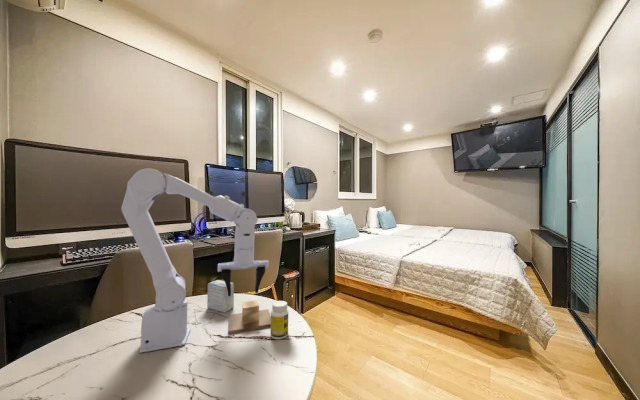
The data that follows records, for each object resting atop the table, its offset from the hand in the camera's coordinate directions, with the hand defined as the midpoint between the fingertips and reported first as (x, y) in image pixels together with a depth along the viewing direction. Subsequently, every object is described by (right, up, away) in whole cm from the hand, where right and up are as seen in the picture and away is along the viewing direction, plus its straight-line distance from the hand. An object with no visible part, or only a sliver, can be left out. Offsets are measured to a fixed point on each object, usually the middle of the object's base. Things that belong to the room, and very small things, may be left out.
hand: (243, 293), depth 69 cm
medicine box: (-11, -9, +9) cm, 17 cm away
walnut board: (+2, -9, 0) cm, 9 cm away
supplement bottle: (+12, -9, -7) cm, 16 cm away
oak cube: (+2, -8, 0) cm, 8 cm away
